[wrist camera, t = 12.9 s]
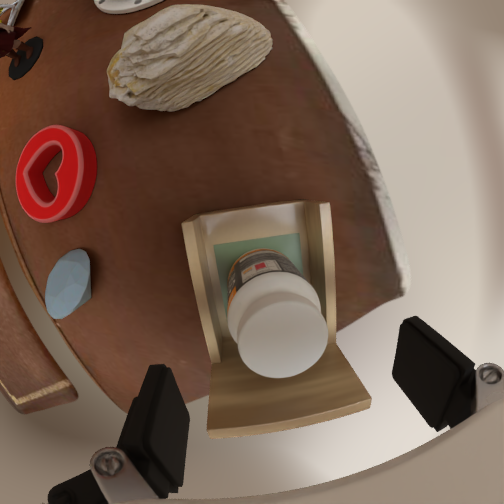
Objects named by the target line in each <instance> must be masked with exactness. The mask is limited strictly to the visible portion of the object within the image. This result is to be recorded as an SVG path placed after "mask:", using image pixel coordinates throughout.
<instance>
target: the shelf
mask: <svg viewBox="0 0 504 504" xmlns="http://www.w3.org/2000/svg"><path fill="white" fill-rule="evenodd" d="M182 230H183V236H184V241H185V247H186V252H187V257H188V263H189V268H190V273H191V278H192V283H193V287H194V292H195V297H196V301H197V306H198V310H199V314H200V319H201V323H202V327H203V331H204V336H205V340H206V344H207V348H208V351H209V355H210V359H211V363H212V369H211V380H210V392H209V404H208V417H207V418H208V419H207V432H208V434H209V437H210V439H218V438H231V437H241V436H250V435H258V434H265V433H271V432H278V431H283V430H289V429H293V428H299V427H304V426H308V425H312V424H316V423H321V422H325V421H329V420H332V419H336V418H340V417H343V416H347V415H350V414H353V413H356V412H360V411H363V410H366V409H368V408H370V405H371V399H372V398H371V396H370V395H369V393H368V392H367V390H366V389H365V387H364V386H363V384H362V382H361V381H360V379H359V378H358V377H357V375H356V373H355V371H354V370H353V368H352V367H351V365H350V364H349V362H348V361H347V359H346V358H345V356H344V355H343V353H342V352H341V350H340V349H339V347H338V346H337V344H336V288H335V264H334V247H333V233H332V220H331V209H330V203H329V202H322V201H314V200H306V199H300V200H291V201H283V202H275V203H267V204H260V205H252V206H245V207H238V208H231V209H225V210H218V211H212V212H205V213H199V214H195V215H194V216H192V217H190V218H189V219H187V220H186V221H184V222H183V223H182ZM260 248H267V249H272V250H276V251H278V252H280V253H282V254H283V255H285V256H286V257H287V258H288V259H289V260H290V261H291V262H292V263H293V264H294V265H295V267H296V268H297V269H298V270H299V272H300V273H301V274H302V275H303V276H304V277H305V278H306V280H307V281H308V282H309V283H310V284H311V285H312V286H313V288H314V289H315V291H316V293H317V295H318V298H319V301H320V306H321V314H322V315H323V317H324V319H325V321H326V324H327V327H328V341H327V345H326V348H325V350H324V352H323V354H322V356H321V357H320V358H319V360H318V361H317V362H316V363H315V364H314V365H312V366H311V367H310V368H308V369H307V370H305V371H304V372H302V373H299V374H297V375H294V376H291V377H285V378H270V377H265V376H262V375H260V374H257V373H255V372H254V371H252V370H251V369H250V368H248V366H247V365H246V364H245V363H244V362H243V360H242V358H241V356H240V354H239V351H238V344H237V343H236V342H235V341H234V339H233V337H232V336H231V334H230V331H229V327H228V321H227V283H228V276H229V272H230V270H231V268H232V266H233V264H234V263H235V261H236V260H237V259H238V258H239V257H241V256H242V255H243V254H245V253H247V252H249V251H251V250H254V249H260Z"/></svg>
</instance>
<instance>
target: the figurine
mask: <svg viewBox="0 0 504 504" xmlns="http://www.w3.org/2000/svg"><path fill="white" fill-rule="evenodd" d="M30 28H31V27H30ZM30 28H20V27H15V26H10V25H6V24H3V23H0V58H1V57H4V56H5V55H6V56H8V57H10V58H13V59H12V61H11V64H10V67H9V77H10V78H12V79H13V80H16V79H18V78H21V77H23V76H24V75H25V74H26V73H27V72H28V71H29V70H30V69H31V68H32V67H33V65H34V64H35V62H36V61H37V59H38V58H39V56H40V53H41V51H42V48H43V39H41V38H39V37H34V38H32V39H30V40H28V41H27V42H26V43H23V42H20V40H17V39H18V38H20V37H21V36H22V35H23V34H24V33H26V32H27V31H28V30H29V29H30ZM13 48H16V49H17V50H18V51H17V53H16V52H15V51H14V50H13Z"/></svg>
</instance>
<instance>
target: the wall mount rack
mask: <svg viewBox="0 0 504 504" xmlns="http://www.w3.org/2000/svg"><path fill="white" fill-rule="evenodd" d="M24 1H25V0H17V1H16V2H14V3H13V4H0V8H5V9H4V10H2V12H1V14H2V13H3V12H4V11H6V10H7V9H9V8H12V11H11V14H10V17H9V21H8V24H7V25H10V26H13V25H14V23H15V20H16V18H17V16H18V13H19V11H20V9H21V7H22V5H23V3H24ZM16 3H18V4H17V6H16V7H15V4H16ZM1 14H0V15H1Z"/></svg>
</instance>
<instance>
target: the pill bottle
mask: <svg viewBox="0 0 504 504" xmlns="http://www.w3.org/2000/svg"><path fill="white" fill-rule="evenodd" d="M227 321H228V327H229V331H230V334H231V336H232V337H233V339H234V341H235V342H236V343H237V344H238V351H239V354H240V356H241V358H242V360H243V362H244V363H245V364H246V365H247V366H248V368H250V369H251V370H252V371H254V372H255V373H257V374H260V375H262V376H265V377H270V378H285V377H291V376H294V375H297V374H299V373H302V372H304V371H305V370H307V369H308V368H310V367H311V366H312V365H314V364H315V363H316V362H317V361H318V360H319V358H320V357H321V356H322V354H323V352H324V350H325V348H326V345H327V341H328V327H327V324H326V321H325V319H324V317H323V315H322V314H321V306H320V301H319V298H318V295H317V293H316V291H315V289H314V288H313V286H312V285H311V284H310V283H309V282H308V281H307V280H306V278H305V277H304V276H303V275H302V274H301V273H300V272H299V270H298V269H297V268H296V267H295V265H294V264H293V263H292V262H291V261H290V260H289V259H288V258H287V257H286V256H285V255H283V254H282V253H280V252H278V251H276V250H272V249H267V248H260V249H254V250H251V251H249V252H247V253H245V254H243V255H242V256H241V257H239V258H238V259H237V260H236V261H235V263H234V264H233V266H232V268H231V270H230V272H229V276H228V283H227Z"/></svg>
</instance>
